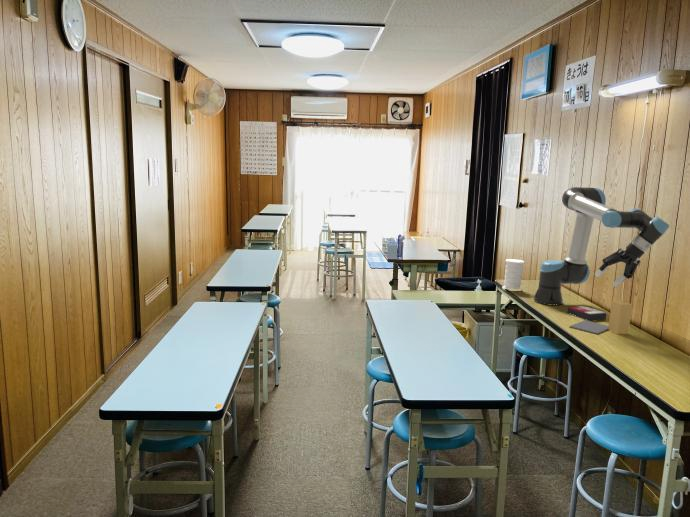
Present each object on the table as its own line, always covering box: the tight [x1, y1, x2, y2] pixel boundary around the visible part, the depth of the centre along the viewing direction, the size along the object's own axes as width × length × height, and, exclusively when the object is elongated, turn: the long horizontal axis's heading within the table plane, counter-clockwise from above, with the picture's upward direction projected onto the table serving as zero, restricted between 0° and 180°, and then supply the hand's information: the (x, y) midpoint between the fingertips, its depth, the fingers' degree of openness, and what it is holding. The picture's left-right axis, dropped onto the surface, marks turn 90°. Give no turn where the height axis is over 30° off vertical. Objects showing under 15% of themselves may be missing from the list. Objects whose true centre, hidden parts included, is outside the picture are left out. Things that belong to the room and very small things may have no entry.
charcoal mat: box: [569, 319, 609, 335], centre depth 255 cm, size 17×13×1 cm
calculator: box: [567, 305, 607, 322], centre depth 275 cm, size 11×4×15 cm
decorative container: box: [501, 258, 525, 291], centre depth 327 cm, size 12×12×18 cm
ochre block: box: [607, 300, 633, 335], centre depth 249 cm, size 6×6×14 cm
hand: (605, 281), depth 257 cm, fingers open, 13 cm apart
